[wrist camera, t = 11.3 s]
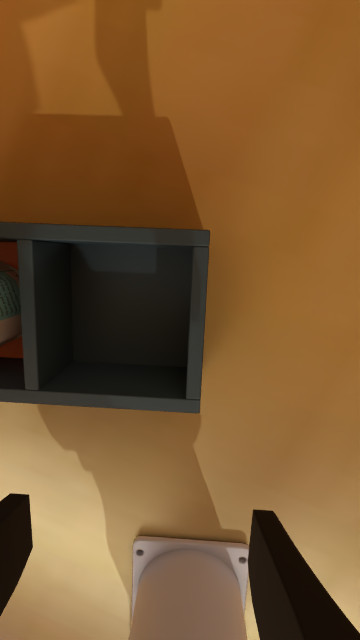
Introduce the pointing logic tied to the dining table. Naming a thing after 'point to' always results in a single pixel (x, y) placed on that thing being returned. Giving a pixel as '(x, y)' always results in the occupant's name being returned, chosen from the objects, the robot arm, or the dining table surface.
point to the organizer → (106, 316)
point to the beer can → (9, 304)
